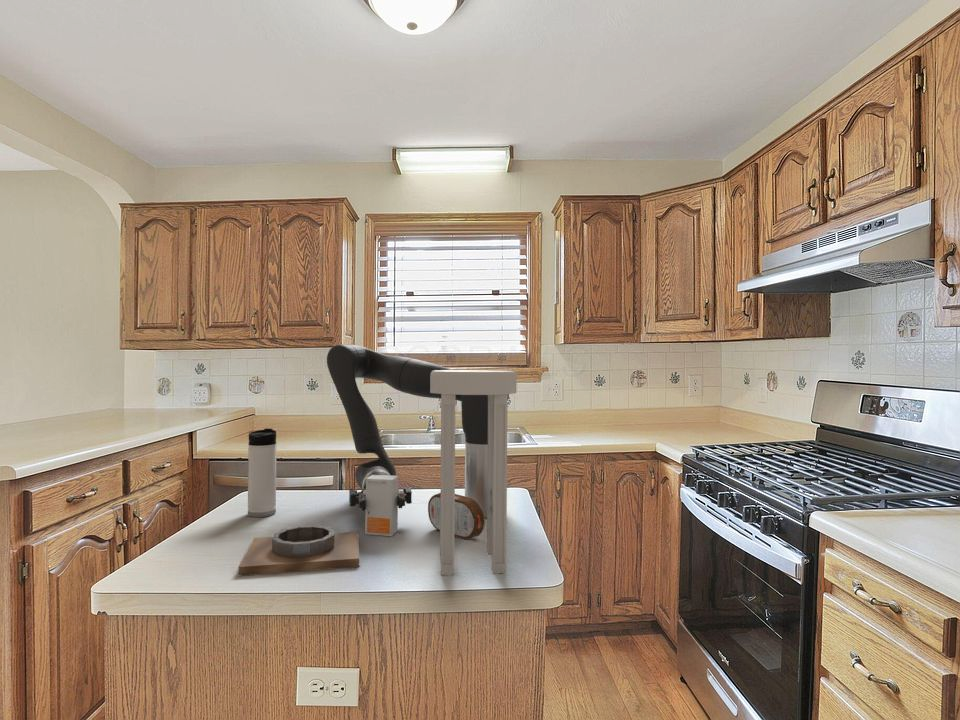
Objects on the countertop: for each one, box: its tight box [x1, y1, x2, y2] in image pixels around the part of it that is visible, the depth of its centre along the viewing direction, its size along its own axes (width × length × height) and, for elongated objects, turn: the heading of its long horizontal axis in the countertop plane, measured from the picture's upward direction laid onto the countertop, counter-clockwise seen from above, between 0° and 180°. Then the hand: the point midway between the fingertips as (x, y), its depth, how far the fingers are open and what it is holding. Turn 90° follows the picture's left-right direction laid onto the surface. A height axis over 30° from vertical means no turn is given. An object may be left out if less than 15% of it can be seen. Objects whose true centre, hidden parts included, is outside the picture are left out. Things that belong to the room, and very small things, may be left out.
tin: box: [427, 492, 486, 540], centre depth 118 cm, size 15×3×8 cm, turn 47°
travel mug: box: [247, 427, 277, 518], centre depth 133 cm, size 6×7×20 cm
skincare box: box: [364, 475, 399, 537], centre depth 118 cm, size 6×4×12 cm
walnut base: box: [238, 531, 360, 576], centre depth 104 cm, size 20×16×2 cm
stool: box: [430, 369, 518, 576], centre depth 101 cm, size 16×16×35 cm
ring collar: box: [272, 524, 336, 558], centre depth 104 cm, size 11×11×2 cm
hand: (382, 504), depth 116 cm, fingers closed on skincare box, 7 cm apart
